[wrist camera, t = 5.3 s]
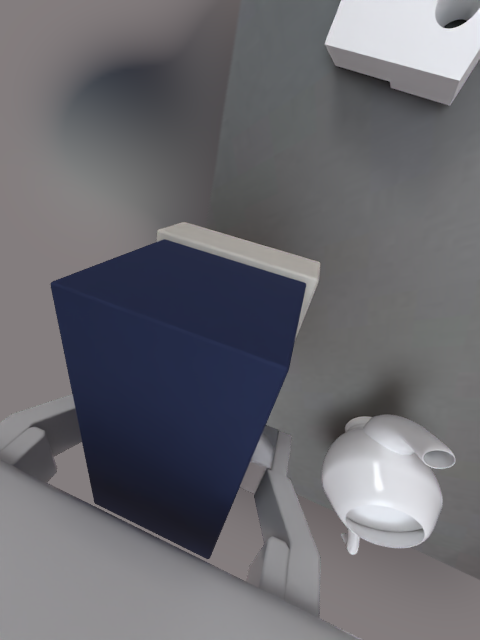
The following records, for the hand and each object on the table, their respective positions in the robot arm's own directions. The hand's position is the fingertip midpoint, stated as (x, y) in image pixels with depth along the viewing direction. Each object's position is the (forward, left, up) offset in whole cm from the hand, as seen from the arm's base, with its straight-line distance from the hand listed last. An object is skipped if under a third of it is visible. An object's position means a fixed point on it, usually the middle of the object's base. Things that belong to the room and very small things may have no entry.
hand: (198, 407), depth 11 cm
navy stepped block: (0, 0, -2) cm, 2 cm away
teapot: (+20, -1, -16) cm, 26 cm away
